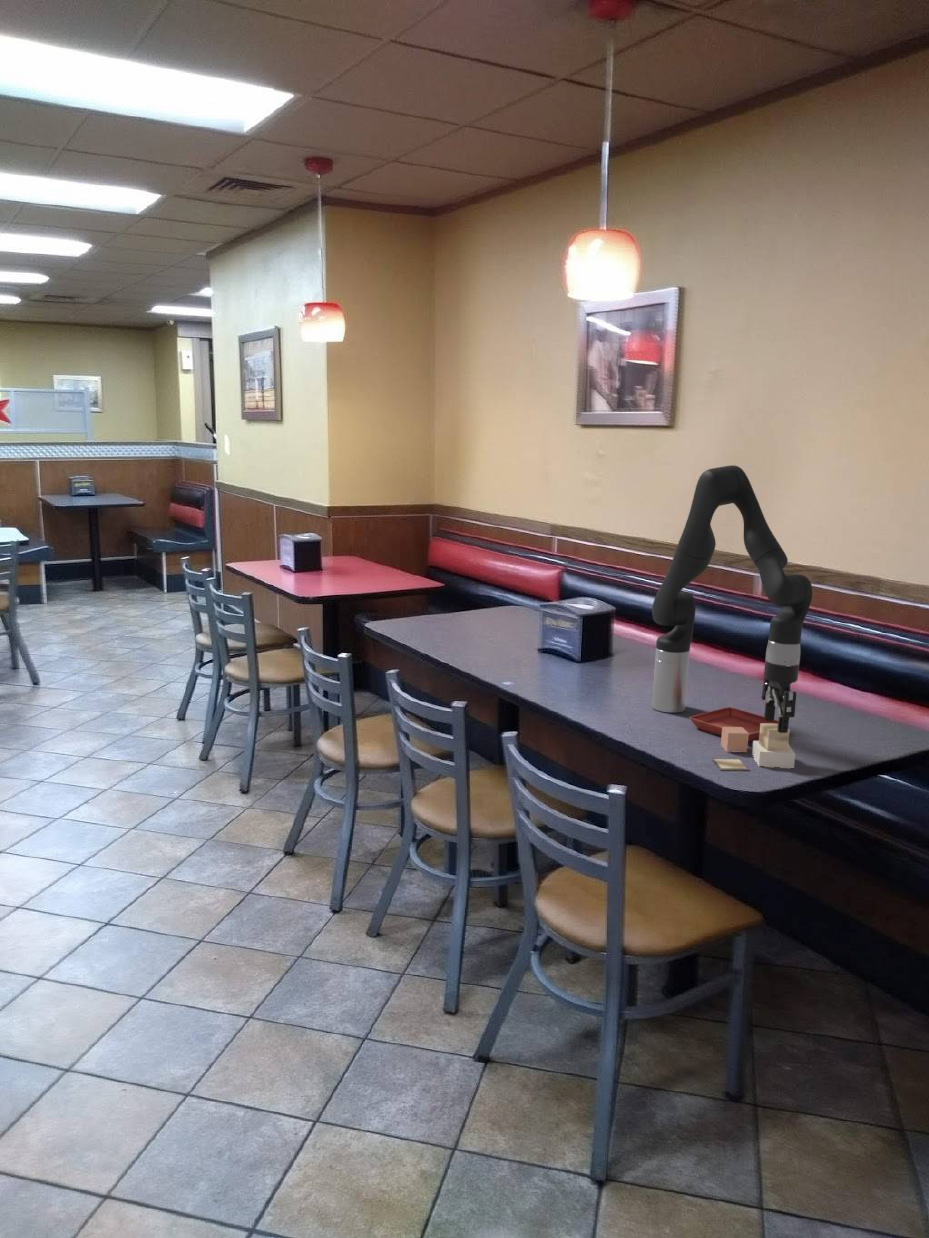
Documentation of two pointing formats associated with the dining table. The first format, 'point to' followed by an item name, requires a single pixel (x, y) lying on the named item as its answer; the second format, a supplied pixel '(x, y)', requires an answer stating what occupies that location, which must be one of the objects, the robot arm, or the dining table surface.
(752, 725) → the plant saucer
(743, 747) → the terracotta cube
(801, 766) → the dining table surface
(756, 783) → the dining table surface
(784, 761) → the base slab
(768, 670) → the robot arm
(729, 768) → the tile
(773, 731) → the maple cube
